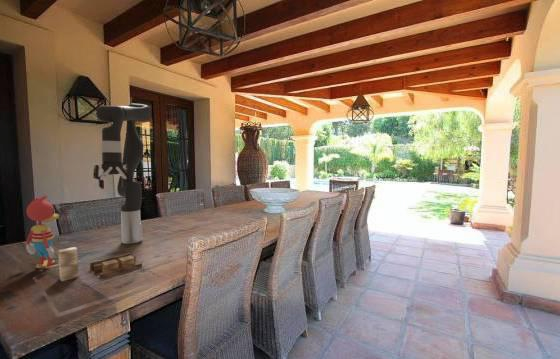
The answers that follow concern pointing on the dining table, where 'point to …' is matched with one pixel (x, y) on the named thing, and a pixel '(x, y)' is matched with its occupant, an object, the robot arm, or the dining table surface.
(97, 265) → the rack
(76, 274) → the long beige rectangular prism
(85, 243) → the dining table surface
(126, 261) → the offcut
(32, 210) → the toy
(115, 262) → the offcut
